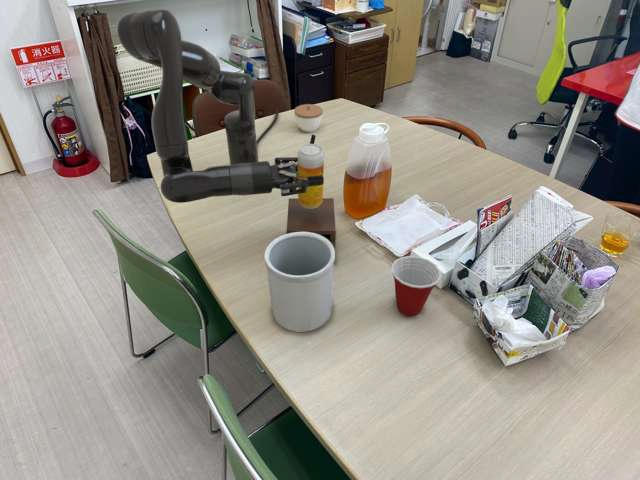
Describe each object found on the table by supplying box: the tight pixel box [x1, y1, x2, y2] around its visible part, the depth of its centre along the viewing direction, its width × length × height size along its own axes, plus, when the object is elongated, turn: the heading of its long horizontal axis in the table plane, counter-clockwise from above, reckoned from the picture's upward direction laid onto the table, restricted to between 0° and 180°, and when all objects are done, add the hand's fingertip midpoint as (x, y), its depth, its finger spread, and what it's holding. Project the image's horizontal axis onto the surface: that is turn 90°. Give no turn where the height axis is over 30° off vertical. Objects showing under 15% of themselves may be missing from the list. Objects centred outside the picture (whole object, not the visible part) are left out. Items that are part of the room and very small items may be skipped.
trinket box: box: [293, 103, 324, 133], centre depth 176 cm, size 11×11×9 cm
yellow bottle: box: [297, 143, 325, 209], centre depth 111 cm, size 6×6×15 cm
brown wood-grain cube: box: [286, 197, 337, 251], centre depth 121 cm, size 14×12×11 cm
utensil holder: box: [263, 232, 336, 333], centre depth 102 cm, size 15×15×18 cm
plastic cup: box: [391, 255, 442, 317], centre depth 104 cm, size 11×11×12 cm
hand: (320, 172), depth 110 cm, fingers closed on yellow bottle, 6 cm apart
